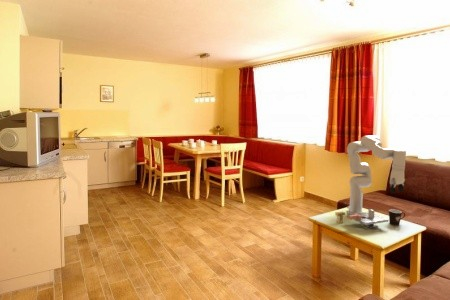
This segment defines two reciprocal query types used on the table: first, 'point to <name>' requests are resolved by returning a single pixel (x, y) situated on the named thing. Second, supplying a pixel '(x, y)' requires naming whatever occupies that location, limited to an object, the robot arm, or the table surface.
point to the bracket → (355, 216)
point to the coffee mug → (395, 217)
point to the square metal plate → (370, 219)
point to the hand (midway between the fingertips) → (396, 192)
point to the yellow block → (340, 216)
